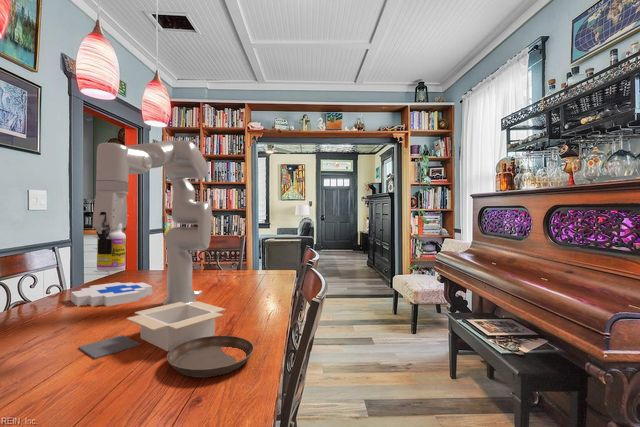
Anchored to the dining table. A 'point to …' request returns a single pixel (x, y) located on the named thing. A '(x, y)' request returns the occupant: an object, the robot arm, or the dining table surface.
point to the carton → (177, 323)
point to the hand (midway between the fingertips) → (111, 251)
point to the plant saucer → (208, 356)
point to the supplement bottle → (113, 252)
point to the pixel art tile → (111, 294)
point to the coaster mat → (108, 346)
